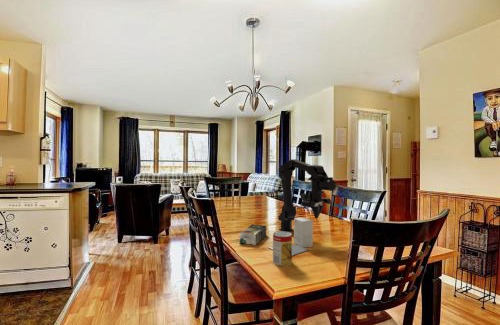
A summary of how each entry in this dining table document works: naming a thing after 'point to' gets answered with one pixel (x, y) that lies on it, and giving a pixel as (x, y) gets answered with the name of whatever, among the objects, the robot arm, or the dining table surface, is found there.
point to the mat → (295, 249)
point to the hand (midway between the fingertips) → (316, 218)
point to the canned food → (282, 248)
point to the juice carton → (252, 234)
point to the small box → (303, 232)
